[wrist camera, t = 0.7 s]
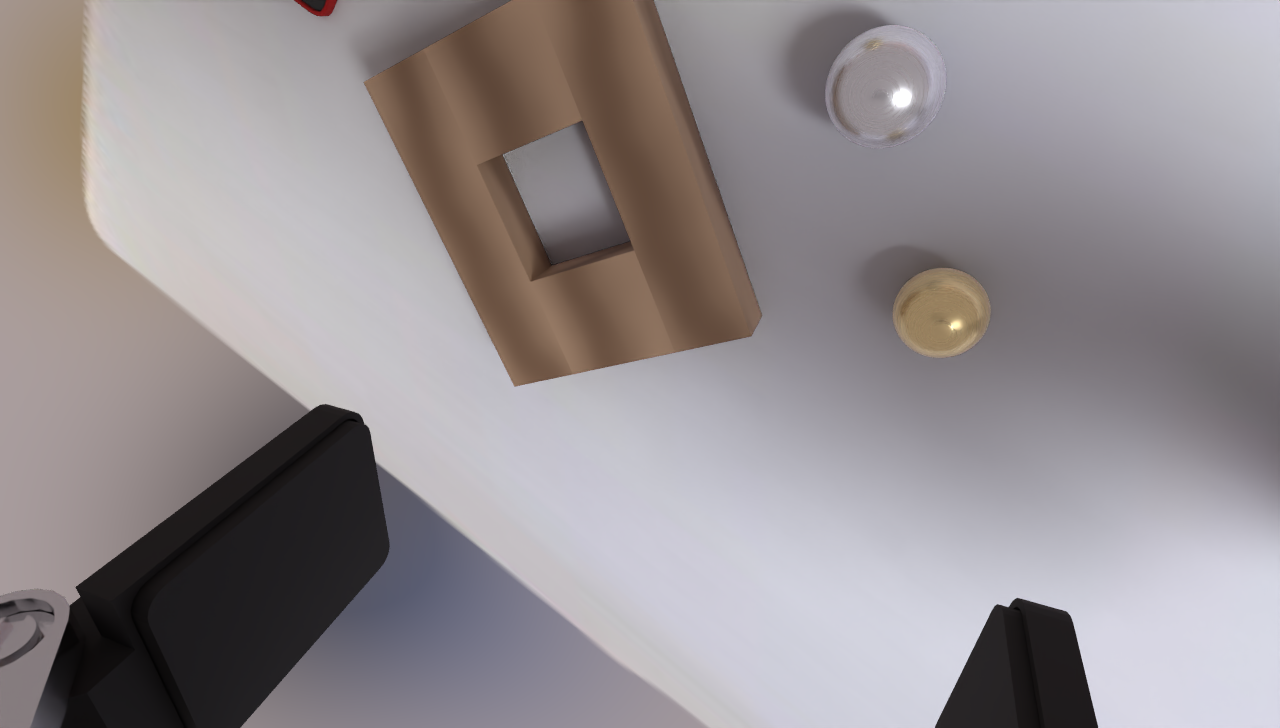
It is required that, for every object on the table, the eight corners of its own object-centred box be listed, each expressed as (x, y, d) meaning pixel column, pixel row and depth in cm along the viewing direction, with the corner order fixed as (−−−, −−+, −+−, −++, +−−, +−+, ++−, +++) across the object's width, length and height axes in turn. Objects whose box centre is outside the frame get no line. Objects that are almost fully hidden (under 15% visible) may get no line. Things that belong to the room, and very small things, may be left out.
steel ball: (932, 2, 27) (931, 7, 24) (957, 115, 29) (959, 136, 25) (820, 47, 29) (803, 58, 26) (848, 150, 31) (836, 174, 27)
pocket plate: (634, -55, 30) (612, -56, 28) (762, 315, 36) (751, 336, 34) (394, 76, 37) (363, 82, 35) (534, 367, 43) (514, 386, 41)
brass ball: (978, 245, 31) (982, 277, 28) (995, 324, 32) (1002, 364, 29) (885, 267, 33) (880, 299, 30) (905, 342, 34) (902, 381, 31)
